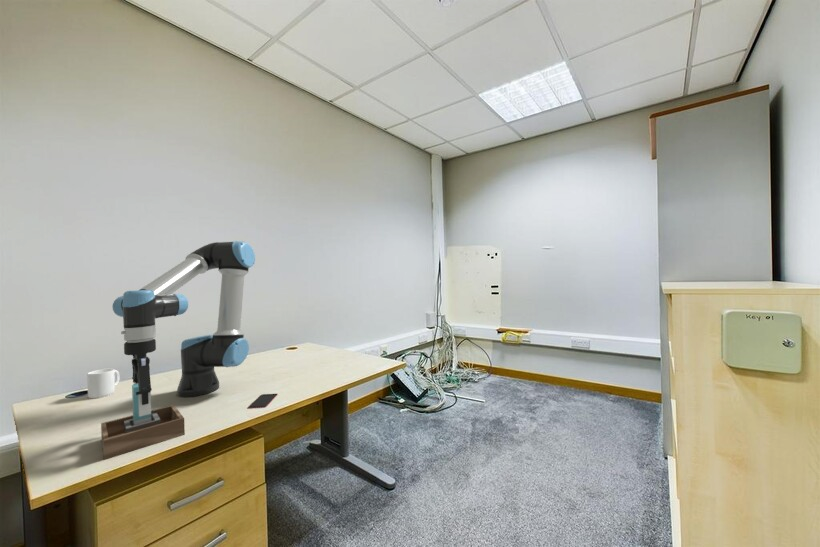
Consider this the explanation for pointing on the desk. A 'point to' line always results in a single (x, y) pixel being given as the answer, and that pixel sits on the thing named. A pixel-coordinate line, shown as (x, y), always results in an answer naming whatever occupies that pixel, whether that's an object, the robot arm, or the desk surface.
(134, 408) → the connector plug
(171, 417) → the connector box
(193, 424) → the desk surface
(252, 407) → the smartphone
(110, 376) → the cup
